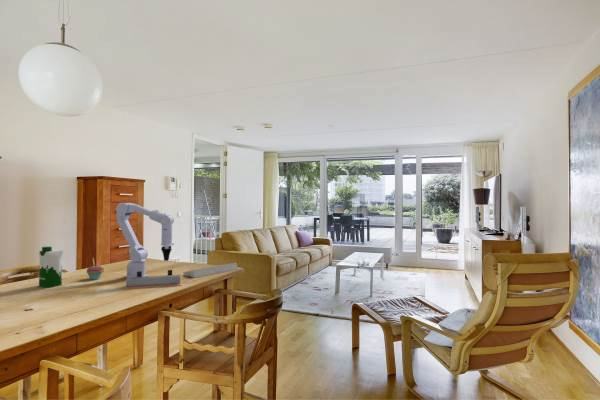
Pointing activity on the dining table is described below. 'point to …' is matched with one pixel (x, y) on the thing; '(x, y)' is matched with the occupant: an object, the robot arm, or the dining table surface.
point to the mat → (153, 286)
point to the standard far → (169, 272)
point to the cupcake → (95, 271)
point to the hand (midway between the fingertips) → (166, 259)
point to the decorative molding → (211, 270)
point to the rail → (152, 280)
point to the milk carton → (50, 267)
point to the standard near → (139, 273)
